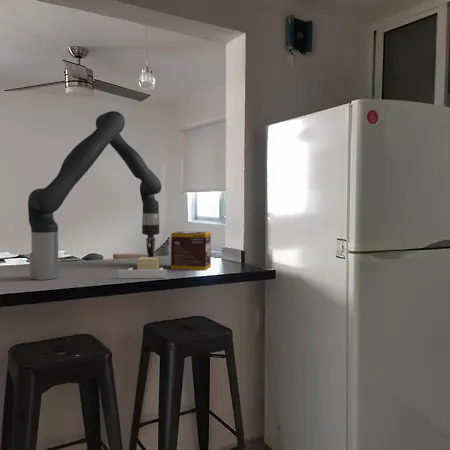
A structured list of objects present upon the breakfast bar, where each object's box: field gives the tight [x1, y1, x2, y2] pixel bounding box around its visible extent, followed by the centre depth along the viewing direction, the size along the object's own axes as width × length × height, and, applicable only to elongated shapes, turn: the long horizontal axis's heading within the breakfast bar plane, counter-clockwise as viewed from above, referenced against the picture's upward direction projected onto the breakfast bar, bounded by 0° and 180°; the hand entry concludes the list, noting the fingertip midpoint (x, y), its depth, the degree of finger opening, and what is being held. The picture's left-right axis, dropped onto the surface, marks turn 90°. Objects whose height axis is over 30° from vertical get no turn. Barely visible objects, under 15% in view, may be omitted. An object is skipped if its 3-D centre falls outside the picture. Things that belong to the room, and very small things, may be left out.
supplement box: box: [170, 230, 212, 271], centre depth 194 cm, size 10×15×16 cm
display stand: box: [117, 267, 168, 279], centre depth 174 cm, size 18×13×3 cm
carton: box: [136, 256, 160, 270], centre depth 189 cm, size 8×8×5 cm
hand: (150, 262), depth 199 cm, fingers closed
